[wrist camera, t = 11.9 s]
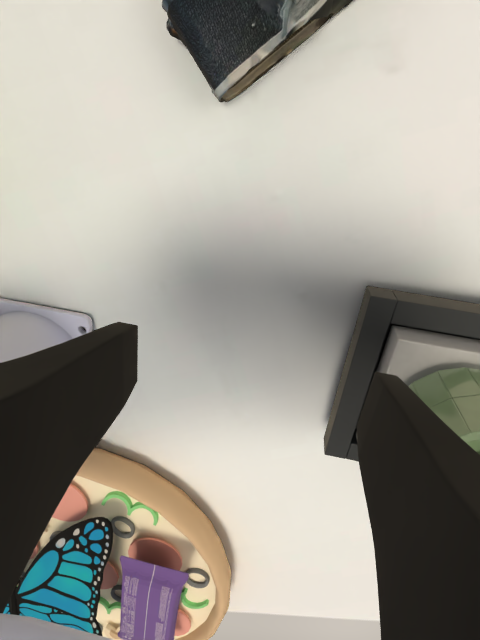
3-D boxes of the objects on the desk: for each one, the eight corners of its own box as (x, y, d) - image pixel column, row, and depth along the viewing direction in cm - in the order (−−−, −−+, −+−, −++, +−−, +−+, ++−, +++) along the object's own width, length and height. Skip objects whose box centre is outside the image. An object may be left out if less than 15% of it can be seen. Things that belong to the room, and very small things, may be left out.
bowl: (490, 470, 19) (537, 558, 15) (373, 446, 20) (389, 524, 16) (544, 375, 17) (619, 450, 13) (408, 350, 17) (437, 415, 13)
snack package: (122, 623, 33) (178, 640, 32) (112, 651, 31) (171, 668, 31) (126, 541, 27) (193, 559, 27) (113, 568, 26) (185, 588, 25)
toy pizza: (205, 692, 36) (-38, 620, 37) (212, 654, 38) (-15, 588, 40) (256, 515, 25) (-88, 425, 27) (261, 479, 28) (-52, 399, 29)
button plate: (484, 460, 21) (497, 483, 19) (355, 433, 21) (358, 454, 20) (545, 350, 18) (565, 368, 16) (391, 324, 18) (398, 339, 17)
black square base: (483, 452, 23) (506, 493, 21) (322, 420, 24) (324, 454, 22) (562, 307, 19) (604, 334, 16) (362, 274, 20) (370, 295, 17)
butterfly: (133, 496, 29) (94, 534, 24) (151, 666, 29) (115, 737, 24) (-62, 494, 34) (-129, 525, 29) (-47, 641, 34) (-111, 697, 29)
